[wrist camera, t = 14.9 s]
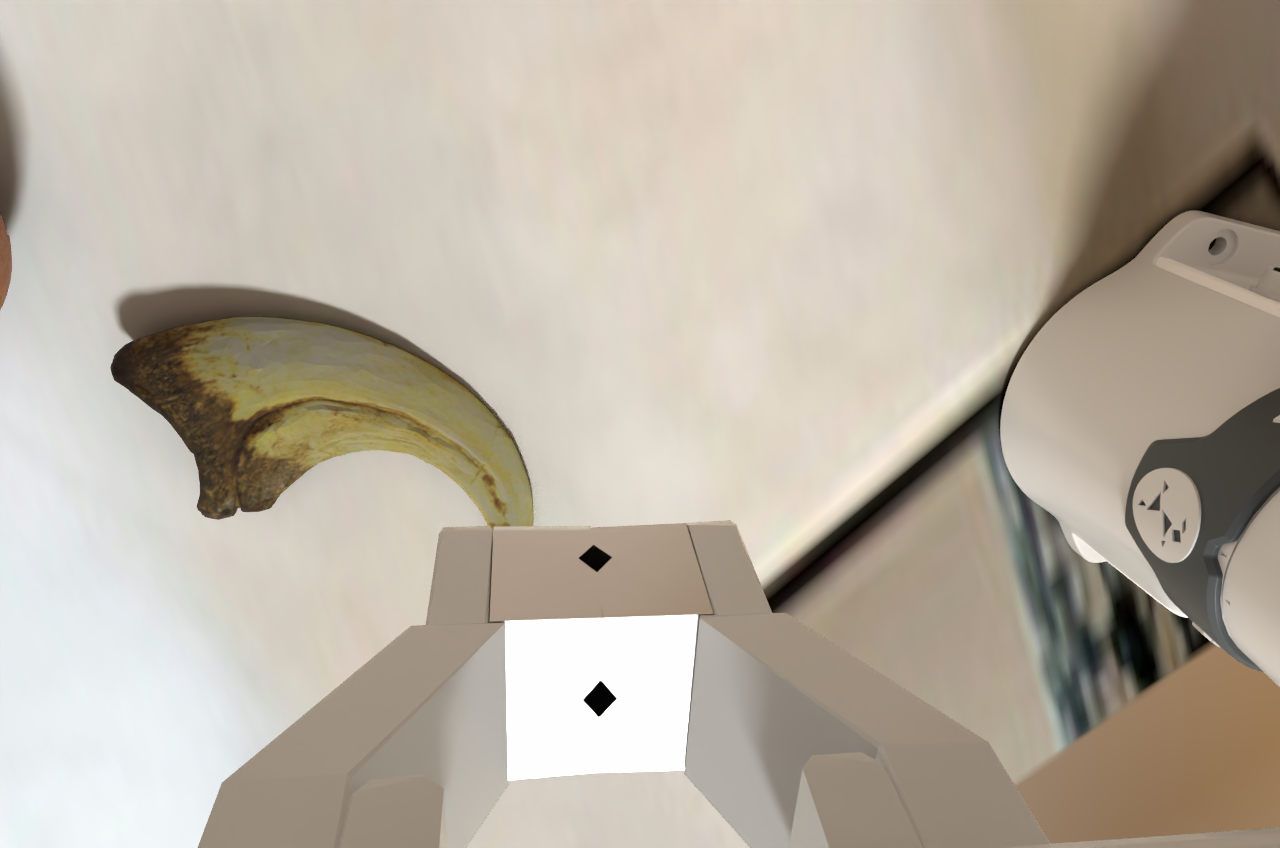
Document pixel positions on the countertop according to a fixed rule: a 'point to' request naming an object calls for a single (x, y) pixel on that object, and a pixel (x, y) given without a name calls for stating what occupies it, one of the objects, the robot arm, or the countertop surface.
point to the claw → (314, 411)
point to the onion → (4, 262)
